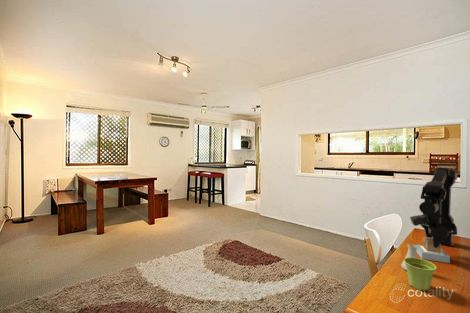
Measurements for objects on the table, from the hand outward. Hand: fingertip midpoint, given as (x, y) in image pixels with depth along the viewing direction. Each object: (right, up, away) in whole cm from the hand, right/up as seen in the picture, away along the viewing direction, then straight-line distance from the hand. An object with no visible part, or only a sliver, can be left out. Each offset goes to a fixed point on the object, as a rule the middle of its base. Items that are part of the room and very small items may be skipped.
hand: (432, 244), depth 110 cm
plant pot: (-26, -7, -25) cm, 36 cm away
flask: (-19, -6, -12) cm, 23 cm away
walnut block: (0, -3, 0) cm, 3 cm away
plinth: (0, -6, 0) cm, 6 cm away
